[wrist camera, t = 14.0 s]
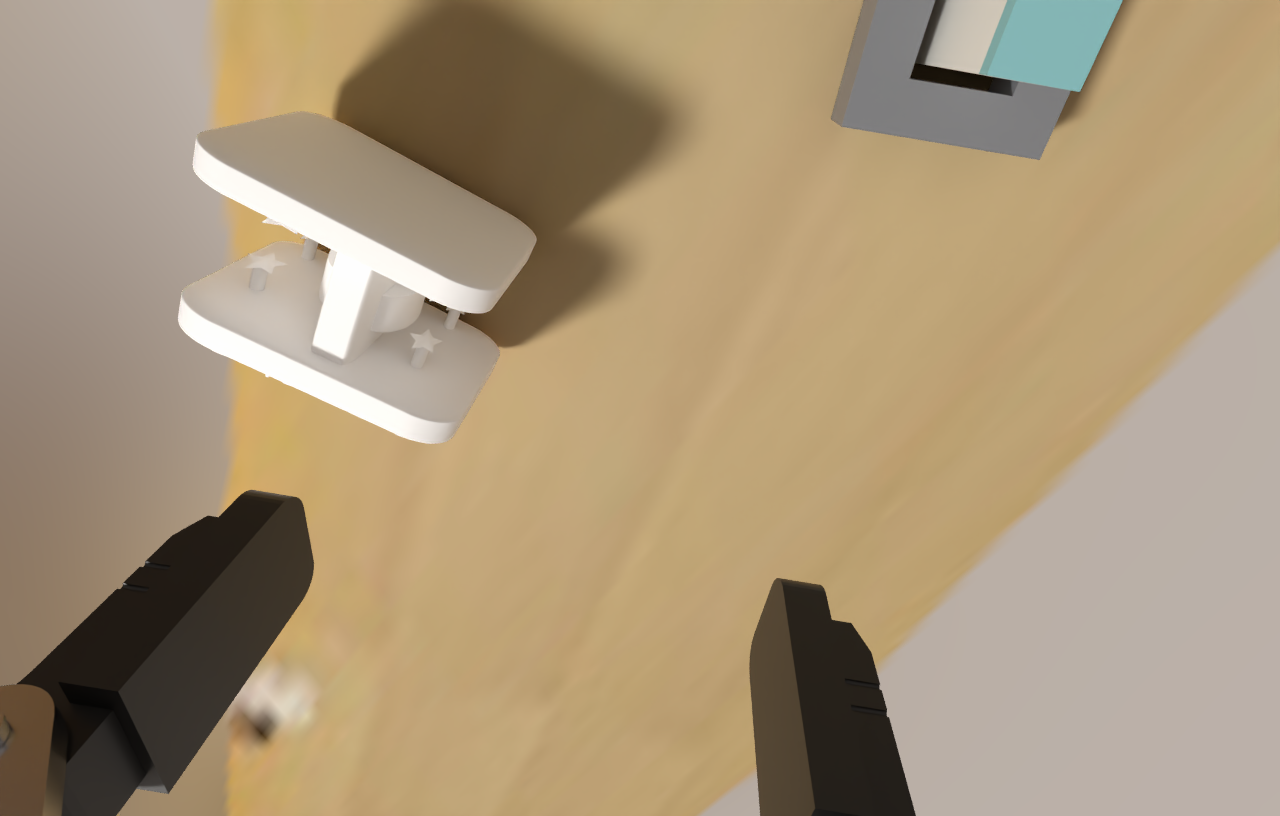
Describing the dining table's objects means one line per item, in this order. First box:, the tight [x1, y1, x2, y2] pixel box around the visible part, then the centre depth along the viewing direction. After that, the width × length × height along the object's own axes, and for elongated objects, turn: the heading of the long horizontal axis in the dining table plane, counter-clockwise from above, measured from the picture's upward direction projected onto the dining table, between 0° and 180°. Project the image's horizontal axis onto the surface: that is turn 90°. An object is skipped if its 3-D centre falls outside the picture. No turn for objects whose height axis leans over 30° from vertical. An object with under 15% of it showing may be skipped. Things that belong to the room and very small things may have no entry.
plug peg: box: [915, 0, 1123, 92], centre depth 27 cm, size 4×4×10 cm
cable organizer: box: [178, 111, 537, 444], centre depth 35 cm, size 15×11×12 cm
